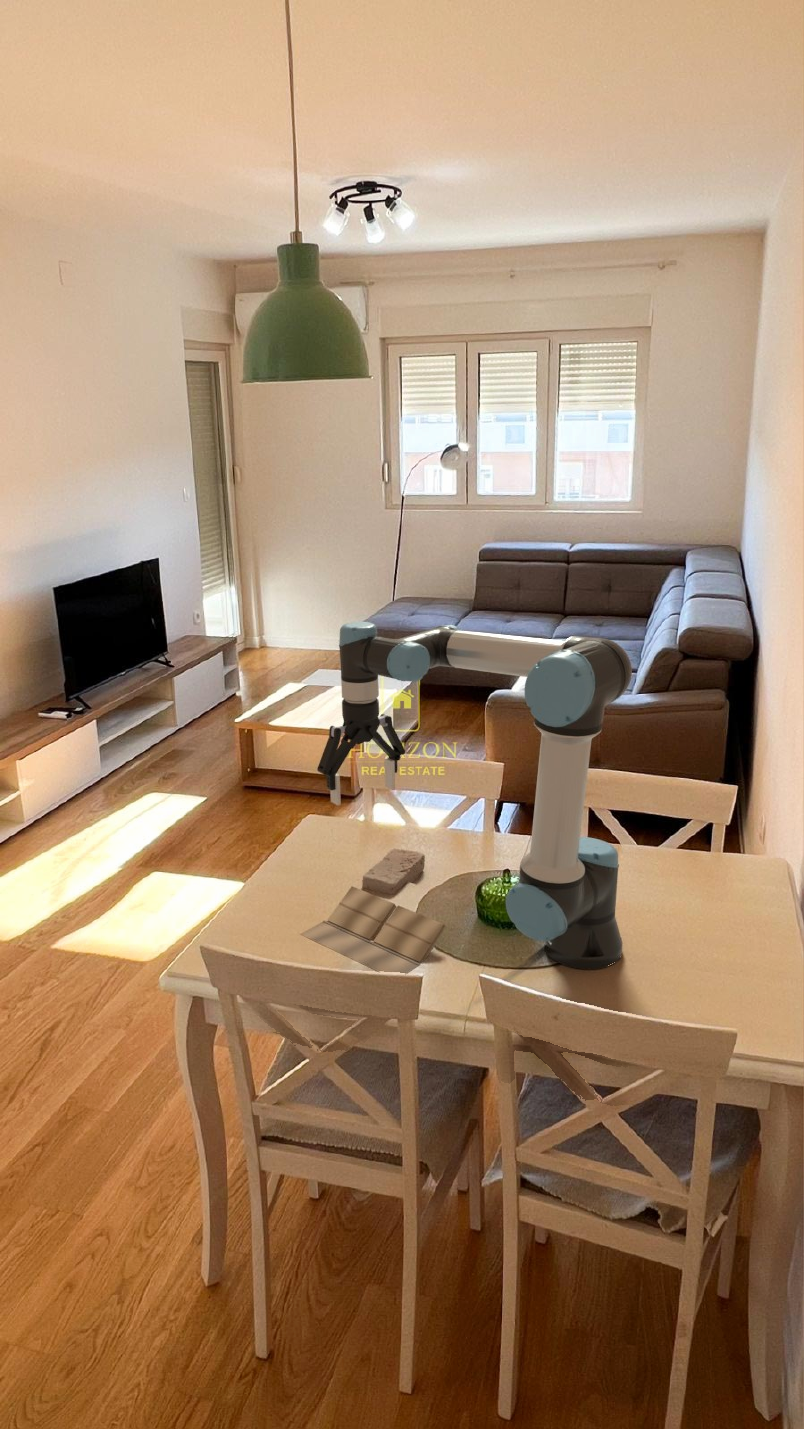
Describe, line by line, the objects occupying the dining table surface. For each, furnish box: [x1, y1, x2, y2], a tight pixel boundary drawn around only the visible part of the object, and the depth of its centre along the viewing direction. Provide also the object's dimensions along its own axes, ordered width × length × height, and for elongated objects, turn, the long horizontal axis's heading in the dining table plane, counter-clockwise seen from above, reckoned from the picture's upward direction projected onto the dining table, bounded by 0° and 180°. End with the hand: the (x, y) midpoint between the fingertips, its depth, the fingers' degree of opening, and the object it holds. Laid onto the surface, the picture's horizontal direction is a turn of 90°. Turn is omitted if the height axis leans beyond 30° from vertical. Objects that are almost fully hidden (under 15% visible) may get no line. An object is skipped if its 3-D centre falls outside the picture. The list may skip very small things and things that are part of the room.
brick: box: [361, 847, 426, 895], centre depth 226 cm, size 17×8×5 cm, turn 153°
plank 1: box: [327, 885, 397, 941], centre depth 205 cm, size 12×9×1 cm
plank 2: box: [373, 905, 447, 963], centre depth 197 cm, size 12×9×1 cm
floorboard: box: [299, 920, 422, 974], centre depth 196 cm, size 26×7×2 cm, turn 49°
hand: (363, 795), depth 208 cm, fingers open, 13 cm apart
